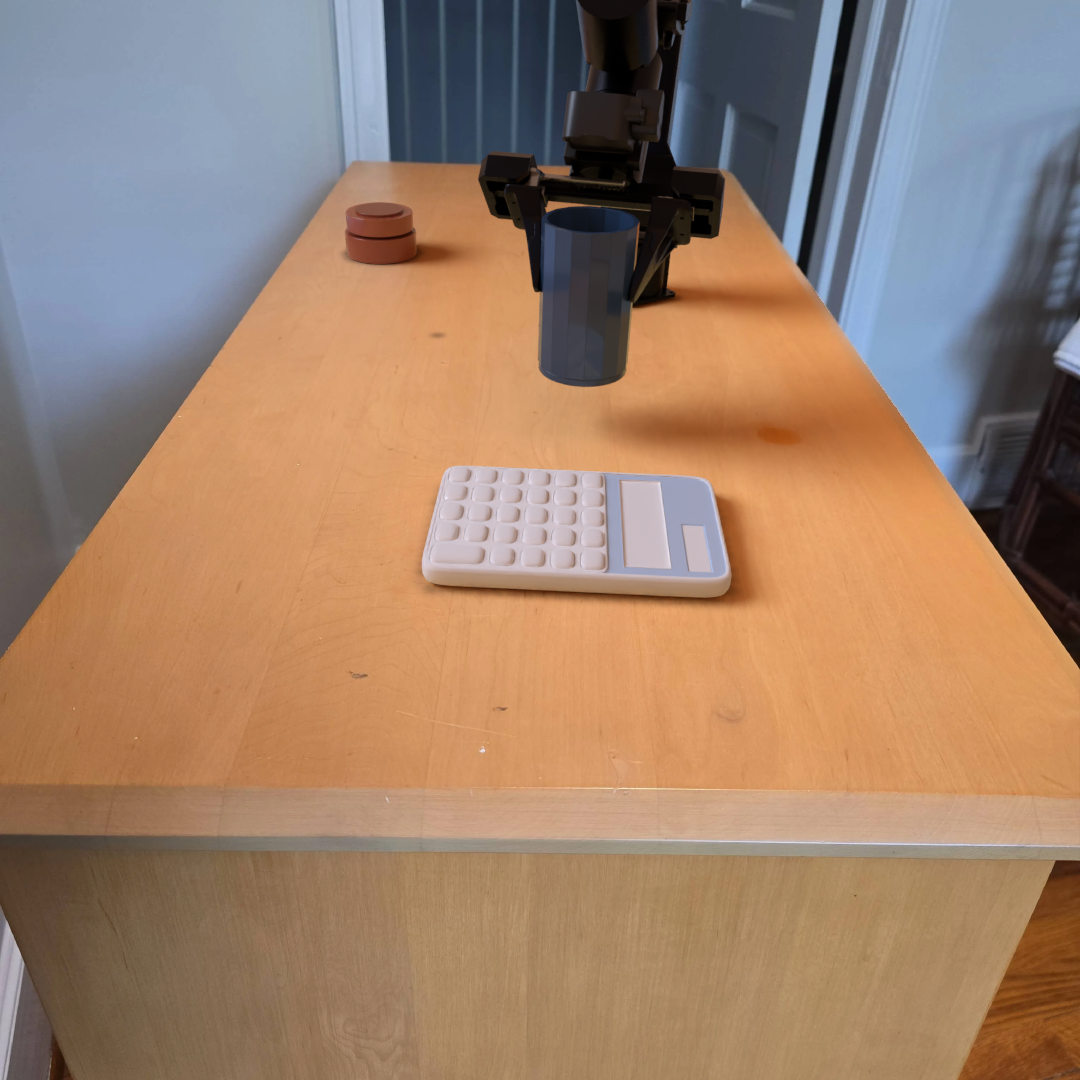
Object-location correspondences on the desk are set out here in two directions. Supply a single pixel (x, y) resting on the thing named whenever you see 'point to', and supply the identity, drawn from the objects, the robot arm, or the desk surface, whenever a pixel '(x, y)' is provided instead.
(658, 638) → the desk surface
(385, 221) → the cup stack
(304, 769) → the desk surface
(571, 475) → the calculator
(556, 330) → the tumbler
